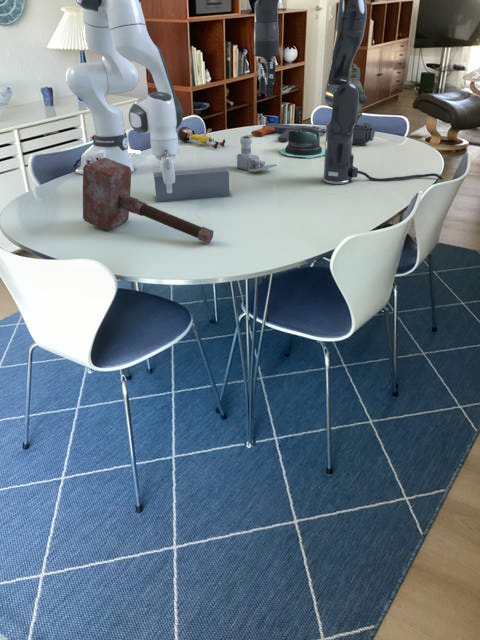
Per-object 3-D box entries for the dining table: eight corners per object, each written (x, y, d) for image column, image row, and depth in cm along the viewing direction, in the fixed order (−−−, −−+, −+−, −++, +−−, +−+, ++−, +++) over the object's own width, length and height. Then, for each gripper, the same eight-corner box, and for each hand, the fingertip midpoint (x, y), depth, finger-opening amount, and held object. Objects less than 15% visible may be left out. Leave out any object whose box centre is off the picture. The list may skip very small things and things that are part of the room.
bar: (157, 202, 183) (154, 176, 179) (155, 196, 188) (153, 172, 183) (229, 196, 187) (228, 171, 182) (226, 191, 191) (226, 167, 187)
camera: (247, 133, 214) (277, 139, 205) (247, 164, 220) (276, 171, 211) (231, 137, 209) (262, 144, 200) (232, 169, 215) (261, 176, 206)
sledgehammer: (223, 202, 148) (103, 155, 160) (205, 213, 141) (81, 164, 152) (214, 257, 158) (102, 210, 170) (196, 271, 151) (81, 220, 163)
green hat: (332, 145, 241) (326, 158, 224) (294, 164, 249) (286, 177, 233) (317, 113, 235) (310, 124, 219) (279, 133, 244) (269, 145, 228)
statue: (367, 132, 266) (374, 63, 251) (349, 133, 264) (355, 64, 249) (357, 127, 275) (362, 61, 260) (339, 129, 273) (344, 62, 258)
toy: (345, 120, 249) (377, 123, 242) (343, 139, 253) (375, 143, 246) (337, 123, 243) (369, 127, 236) (336, 143, 247) (367, 147, 240)
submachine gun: (244, 132, 259) (268, 122, 277) (244, 138, 260) (268, 128, 279) (307, 138, 245) (328, 127, 264) (307, 145, 246) (328, 133, 265)
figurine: (211, 139, 238) (170, 125, 250) (210, 157, 242) (170, 142, 255) (230, 134, 247) (190, 120, 259) (229, 150, 251) (189, 136, 263)
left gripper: (177, 154, 169) (181, 198, 176) (172, 139, 186) (175, 180, 193) (157, 155, 168) (161, 200, 175) (153, 140, 185) (157, 181, 192)
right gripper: (284, 39, 164) (283, 98, 172) (272, 36, 176) (272, 91, 184) (259, 40, 162) (259, 99, 171) (249, 37, 174) (250, 92, 183)
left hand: (168, 189), depth 184 cm, fingers open, 6 cm apart
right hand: (266, 95), depth 177 cm, fingers open, 8 cm apart
